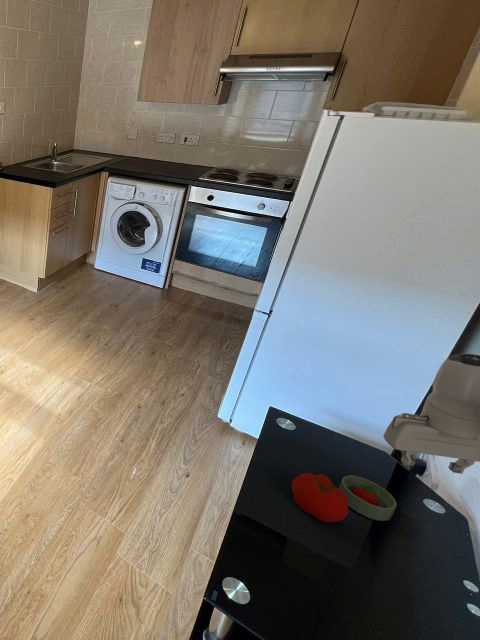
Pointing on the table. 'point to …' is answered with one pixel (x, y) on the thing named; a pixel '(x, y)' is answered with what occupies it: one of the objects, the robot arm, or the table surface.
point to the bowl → (364, 508)
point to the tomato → (320, 497)
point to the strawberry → (366, 494)
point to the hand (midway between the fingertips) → (430, 467)
